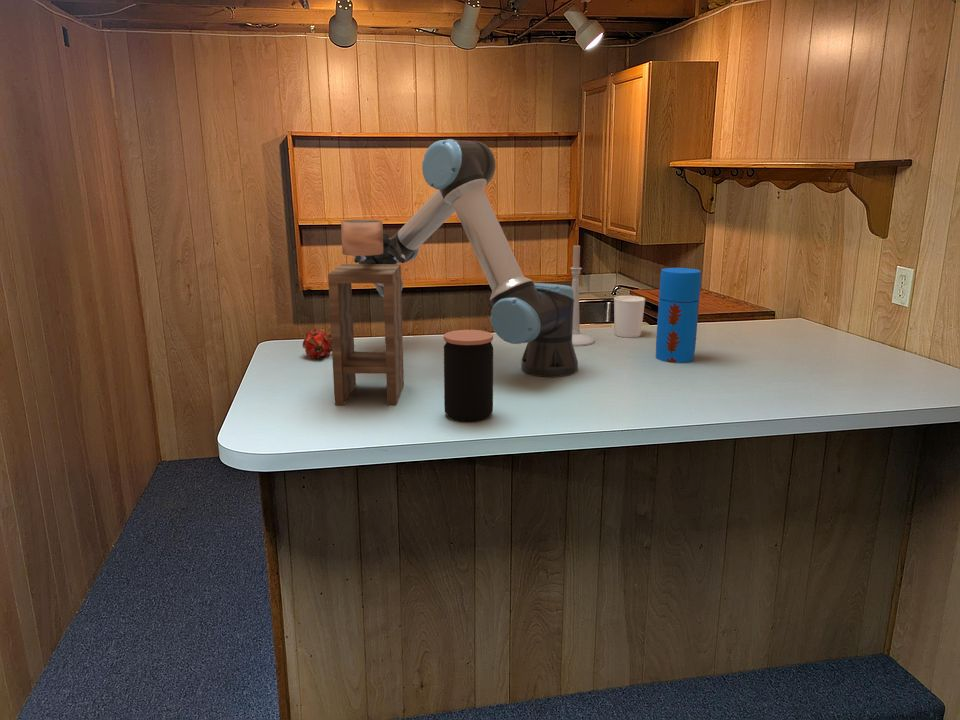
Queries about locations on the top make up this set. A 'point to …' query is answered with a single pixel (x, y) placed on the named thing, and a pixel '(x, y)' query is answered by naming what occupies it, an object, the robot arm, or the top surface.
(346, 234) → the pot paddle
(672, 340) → the thermos
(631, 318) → the white cup
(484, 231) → the robot arm
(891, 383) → the top surface
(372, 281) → the potting stand
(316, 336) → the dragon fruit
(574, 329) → the candlestick
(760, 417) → the top surface
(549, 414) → the top surface
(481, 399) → the coffee jar
